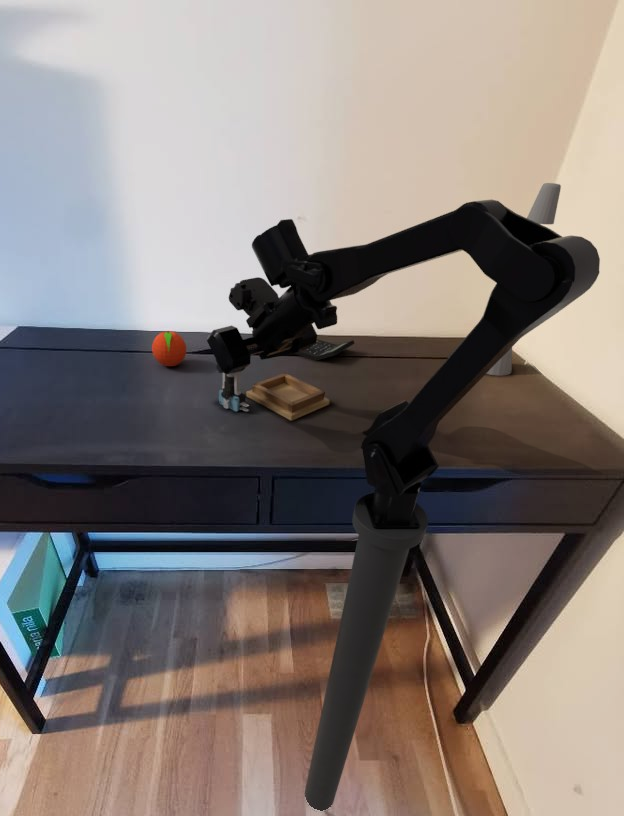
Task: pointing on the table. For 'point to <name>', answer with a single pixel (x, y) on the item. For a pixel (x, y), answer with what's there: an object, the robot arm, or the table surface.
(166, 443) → the table surface
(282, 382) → the base pad
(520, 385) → the table surface
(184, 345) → the clementine
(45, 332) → the table surface
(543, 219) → the lava lamp
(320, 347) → the calculator
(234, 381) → the push button
